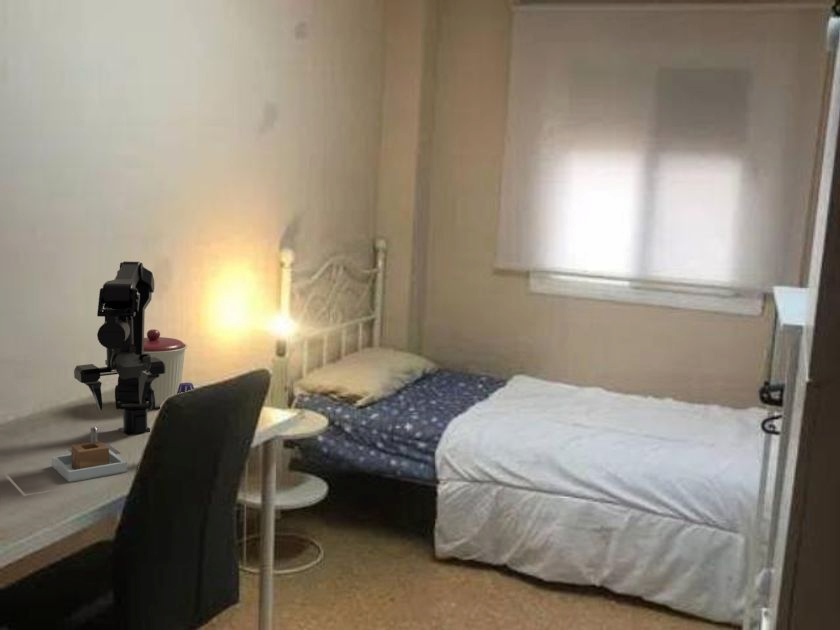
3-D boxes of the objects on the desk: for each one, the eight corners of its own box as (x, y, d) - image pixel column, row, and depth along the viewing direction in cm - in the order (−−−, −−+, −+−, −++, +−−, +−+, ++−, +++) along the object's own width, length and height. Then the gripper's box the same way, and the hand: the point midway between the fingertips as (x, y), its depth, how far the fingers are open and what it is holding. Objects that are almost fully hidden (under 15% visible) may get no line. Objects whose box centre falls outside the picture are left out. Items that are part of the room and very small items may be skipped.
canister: (201, 402, 251) (201, 329, 248) (151, 415, 236) (150, 337, 233) (157, 393, 261) (156, 322, 258) (106, 404, 246) (104, 329, 243)
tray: (52, 468, 191) (51, 456, 191) (107, 459, 199) (107, 448, 198) (69, 483, 182) (68, 472, 182) (126, 473, 189) (126, 462, 189)
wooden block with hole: (68, 464, 192) (67, 442, 191) (96, 460, 196) (95, 438, 195) (80, 475, 186) (80, 452, 185) (109, 470, 189) (108, 447, 188)
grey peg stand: (68, 451, 204) (67, 426, 203) (107, 445, 209) (107, 420, 208) (80, 461, 197) (80, 435, 196) (121, 454, 202) (120, 429, 201)
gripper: (88, 350, 185) (90, 422, 188) (174, 341, 196) (175, 409, 199) (72, 340, 194) (74, 409, 197) (155, 332, 205) (156, 398, 208)
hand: (121, 406), depth 200 cm, fingers open, 9 cm apart
